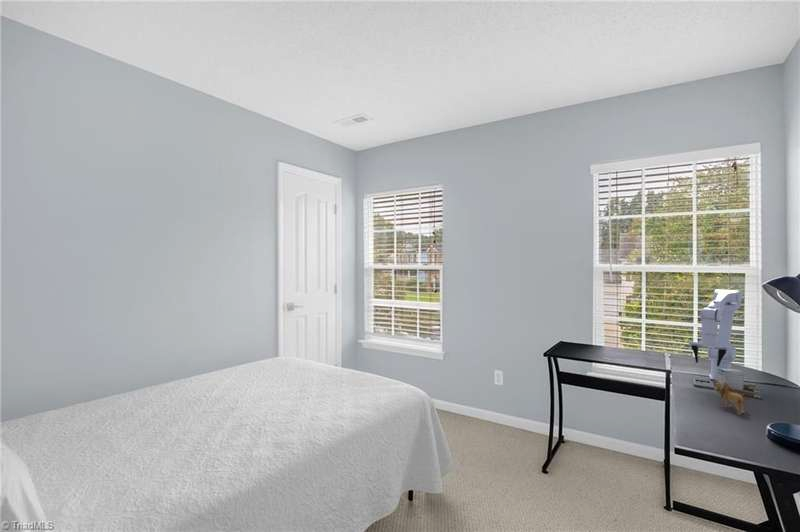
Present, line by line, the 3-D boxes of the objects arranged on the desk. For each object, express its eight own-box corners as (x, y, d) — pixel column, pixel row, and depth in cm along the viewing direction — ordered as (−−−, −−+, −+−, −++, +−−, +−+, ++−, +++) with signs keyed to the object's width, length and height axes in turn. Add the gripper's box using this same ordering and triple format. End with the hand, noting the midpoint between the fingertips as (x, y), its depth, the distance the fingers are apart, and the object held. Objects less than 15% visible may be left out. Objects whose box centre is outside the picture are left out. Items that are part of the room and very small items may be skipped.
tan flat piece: (714, 383, 181) (714, 377, 181) (754, 389, 173) (754, 384, 173) (717, 390, 169) (717, 385, 169) (760, 398, 161) (760, 392, 161)
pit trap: (692, 380, 184) (693, 378, 184) (711, 383, 180) (711, 381, 180) (693, 386, 175) (694, 384, 175) (713, 389, 171) (713, 387, 171)
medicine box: (735, 388, 174) (736, 369, 174) (743, 391, 169) (744, 372, 169) (716, 387, 175) (717, 368, 174) (724, 390, 170) (724, 370, 170)
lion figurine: (710, 402, 154) (711, 380, 154) (723, 403, 154) (724, 380, 154) (742, 417, 139) (743, 392, 139) (757, 417, 139) (758, 393, 139)
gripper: (689, 332, 178) (687, 362, 177) (731, 337, 169) (729, 368, 169) (689, 331, 184) (687, 360, 183) (729, 336, 175) (727, 366, 175)
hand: (707, 364), depth 176 cm, fingers open, 7 cm apart
